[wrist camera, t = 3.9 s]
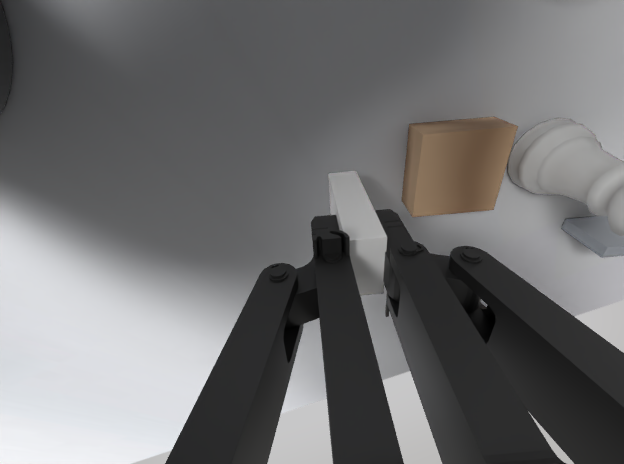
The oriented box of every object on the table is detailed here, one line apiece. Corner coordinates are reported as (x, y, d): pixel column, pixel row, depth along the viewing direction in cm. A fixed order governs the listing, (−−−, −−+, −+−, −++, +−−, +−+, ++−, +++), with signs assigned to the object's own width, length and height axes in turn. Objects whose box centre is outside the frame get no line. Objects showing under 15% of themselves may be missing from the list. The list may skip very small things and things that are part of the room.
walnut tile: (400, 198, 21) (412, 217, 19) (407, 122, 18) (423, 134, 16) (472, 192, 21) (493, 209, 19) (491, 115, 18) (517, 126, 16)
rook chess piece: (533, 106, 18) (682, 150, 11) (594, 127, 19) (765, 180, 12) (489, 176, 20) (589, 248, 13) (544, 192, 21) (664, 267, 14)
